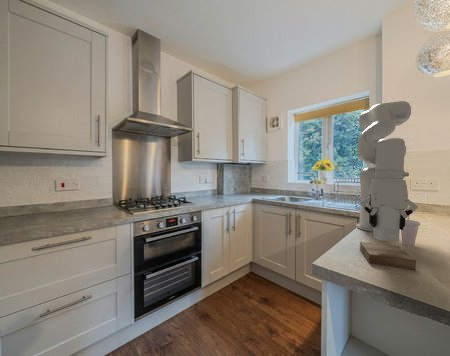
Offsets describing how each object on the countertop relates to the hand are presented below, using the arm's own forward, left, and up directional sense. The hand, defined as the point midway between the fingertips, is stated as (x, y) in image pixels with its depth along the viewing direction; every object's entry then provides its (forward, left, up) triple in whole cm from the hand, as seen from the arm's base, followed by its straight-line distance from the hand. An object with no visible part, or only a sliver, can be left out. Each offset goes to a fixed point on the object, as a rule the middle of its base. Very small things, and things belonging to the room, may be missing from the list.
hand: (386, 227), depth 70 cm
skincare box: (0, 0, -4) cm, 4 cm away
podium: (0, 0, -11) cm, 11 cm away
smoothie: (-20, +14, -11) cm, 27 cm away
